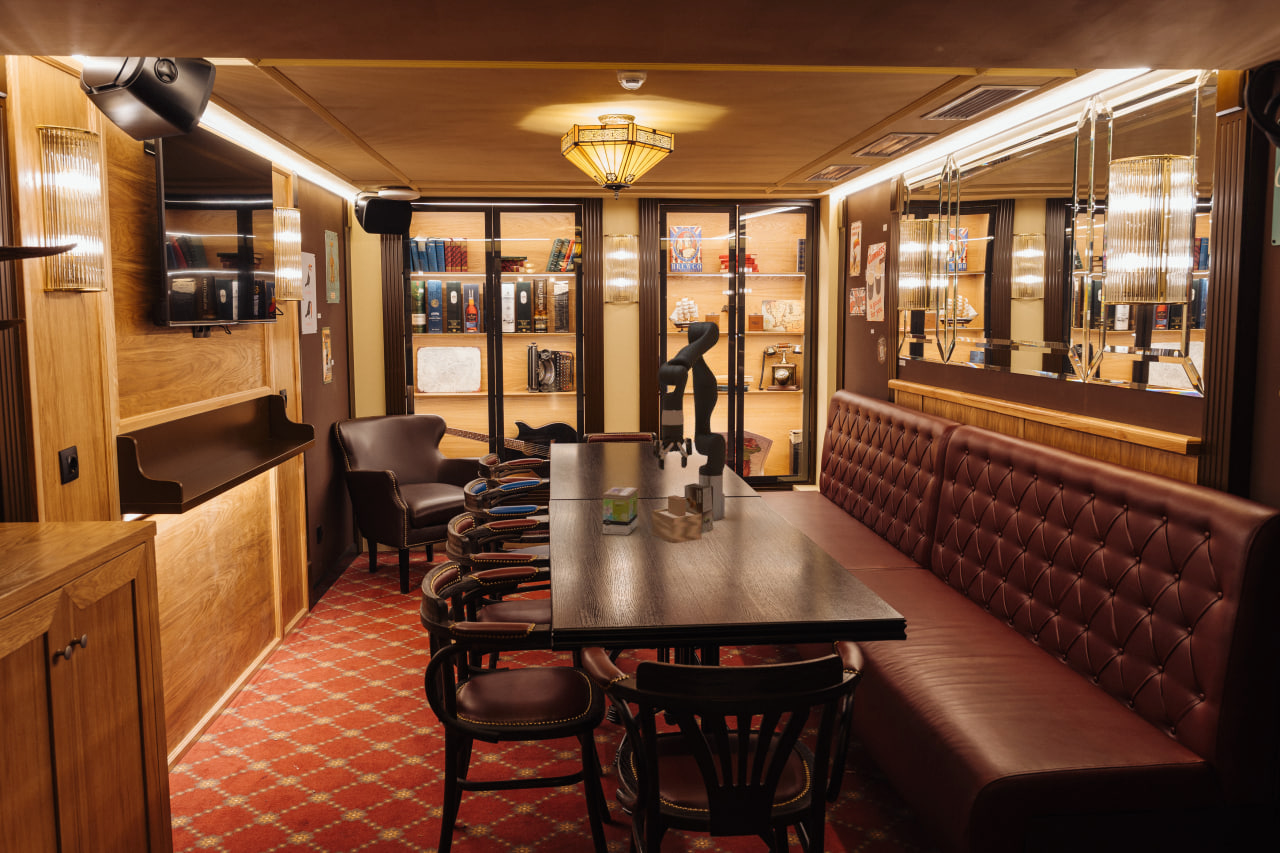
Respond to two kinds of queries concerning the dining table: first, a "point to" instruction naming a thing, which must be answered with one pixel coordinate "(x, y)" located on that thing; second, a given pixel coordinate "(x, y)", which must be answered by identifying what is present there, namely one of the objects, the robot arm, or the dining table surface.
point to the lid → (676, 507)
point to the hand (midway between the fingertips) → (672, 468)
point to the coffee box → (701, 503)
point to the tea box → (620, 510)
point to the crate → (677, 526)
